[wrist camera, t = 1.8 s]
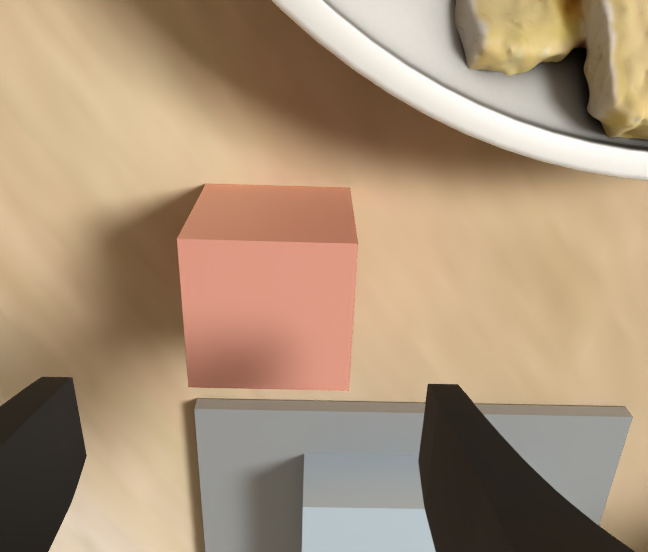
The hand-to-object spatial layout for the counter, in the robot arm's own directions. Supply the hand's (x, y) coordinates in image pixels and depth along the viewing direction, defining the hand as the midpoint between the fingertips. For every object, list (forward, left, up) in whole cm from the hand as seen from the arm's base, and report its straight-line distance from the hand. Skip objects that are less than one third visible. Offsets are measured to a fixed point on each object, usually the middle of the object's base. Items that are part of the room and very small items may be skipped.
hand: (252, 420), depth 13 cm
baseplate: (-5, +12, -8) cm, 16 cm away
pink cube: (0, 0, -9) cm, 9 cm away
